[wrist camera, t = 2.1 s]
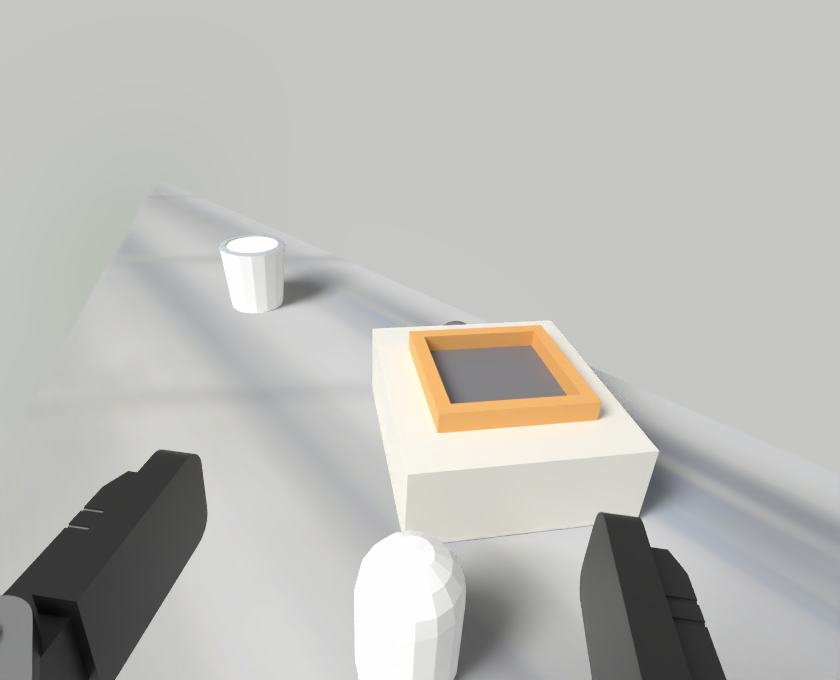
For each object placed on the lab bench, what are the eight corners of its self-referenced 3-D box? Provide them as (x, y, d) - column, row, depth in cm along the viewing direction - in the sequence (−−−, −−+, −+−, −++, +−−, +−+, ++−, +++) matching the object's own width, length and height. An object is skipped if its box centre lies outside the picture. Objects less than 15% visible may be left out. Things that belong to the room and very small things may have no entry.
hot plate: (529, 360, 57) (541, 291, 53) (637, 519, 39) (665, 432, 35) (368, 370, 54) (368, 297, 50) (404, 547, 36) (408, 454, 32)
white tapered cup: (213, 304, 65) (204, 245, 61) (258, 285, 70) (253, 229, 66) (257, 321, 61) (250, 260, 58) (301, 300, 67) (297, 242, 63)
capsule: (442, 727, 27) (454, 618, 23) (338, 689, 28) (333, 580, 24) (468, 628, 31) (483, 523, 27) (377, 599, 33) (379, 495, 29)
